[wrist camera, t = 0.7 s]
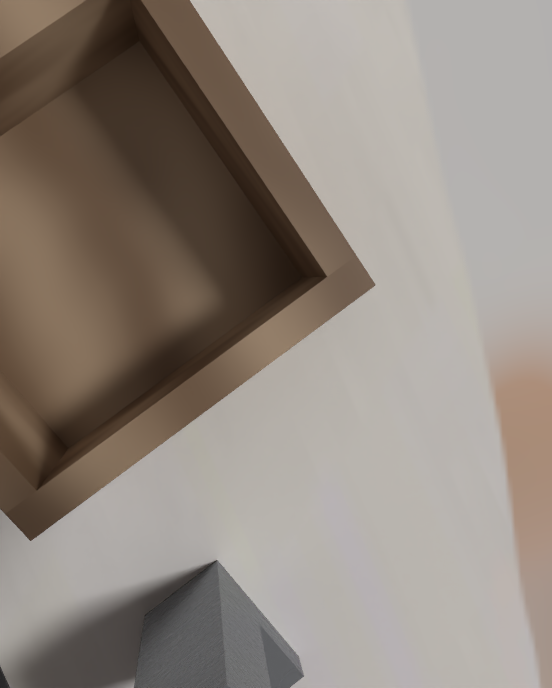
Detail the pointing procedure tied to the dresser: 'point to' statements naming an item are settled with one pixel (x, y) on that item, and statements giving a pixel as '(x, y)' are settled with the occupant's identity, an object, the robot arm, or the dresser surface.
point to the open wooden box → (138, 242)
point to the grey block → (213, 640)
